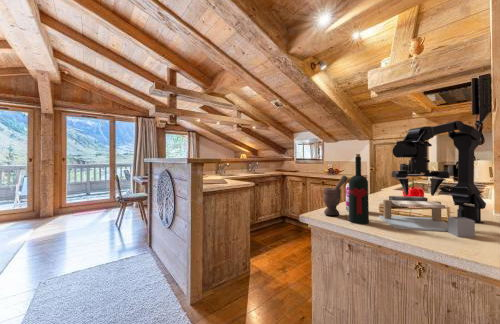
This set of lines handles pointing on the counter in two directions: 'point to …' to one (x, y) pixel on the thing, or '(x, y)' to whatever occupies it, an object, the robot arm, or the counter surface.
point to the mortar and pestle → (333, 197)
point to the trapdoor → (413, 202)
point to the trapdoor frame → (414, 220)
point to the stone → (461, 227)
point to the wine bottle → (358, 196)
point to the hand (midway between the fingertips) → (419, 195)
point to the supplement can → (347, 197)
